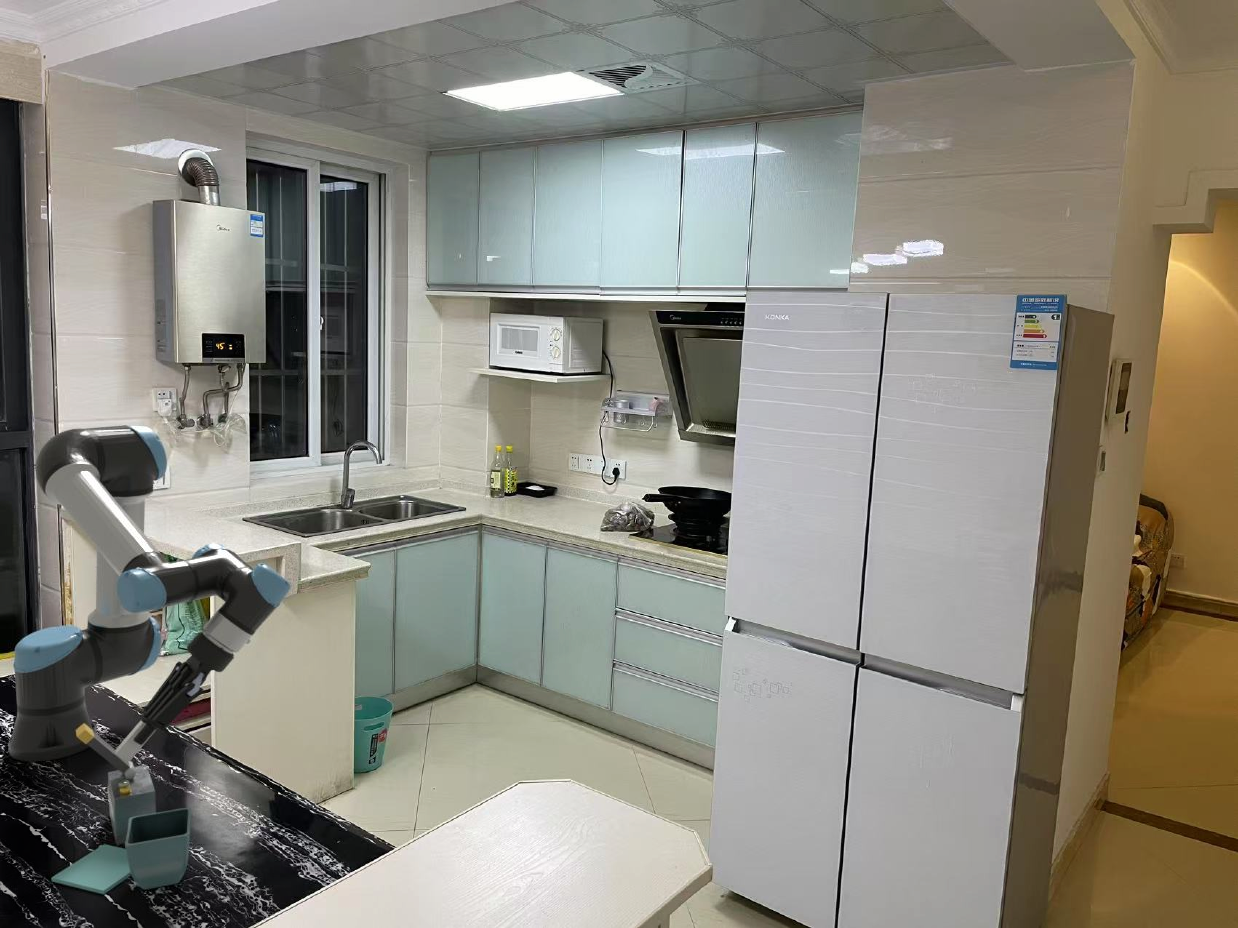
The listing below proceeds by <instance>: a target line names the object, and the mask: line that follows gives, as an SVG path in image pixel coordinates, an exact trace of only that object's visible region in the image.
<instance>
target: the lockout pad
mask: <svg viewBox="0 0 1238 928" xmlns="http://www.w3.org/2000/svg"><path fill="white" fill-rule="evenodd" d="M130 877H132V875H131V872H130V869H129V864H128V859H127V854H126V848H122V847H118V846H113V845H109V844H106V843H104V844H102V845H100V846H99V847H97V848H96V849H94V850H93V851H91V852H90V853H87V855H85V856H83V857H82V858H79V860H77V861H76V862H74V863H72V864H70V865H69V866H67V867H66V868H64V869H63V870H61V871H60V872H58V873H56V874H55V875H54V876H53V875H52V877H51V878H50V879H51V882H52V883H53V882H54V883H57V884H62V885H65V886H68V887H72V888H73V887H74V888H78V889H81V890H85V891H89V892H92V893H93V892H94V893H97V894H101V895H105V894H106V893H108V892H109V891H111V890H113V888H115V887H117V886H119V885H120V884H121V883H122V882H125V880H127V879H128V878H130Z"/></svg>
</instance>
